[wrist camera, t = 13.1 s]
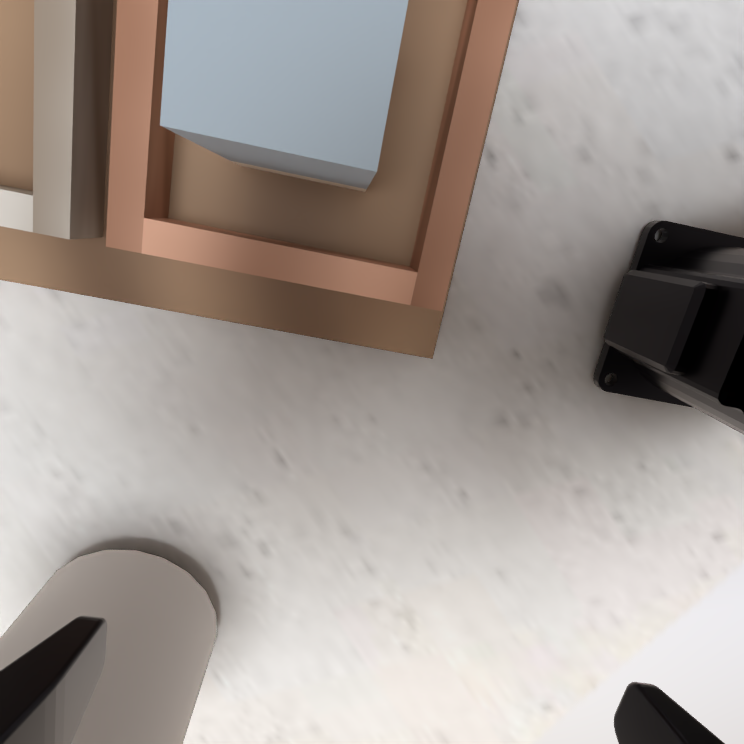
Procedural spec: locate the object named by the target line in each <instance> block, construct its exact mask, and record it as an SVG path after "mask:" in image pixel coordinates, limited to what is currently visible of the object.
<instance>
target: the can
mask: <svg viewBox="0 0 744 744" xmlns="http://www.w3.org/2000/svg"><path fill="white" fill-rule="evenodd" d="M82 615H85V616H93V617H102V618H104V619H106V621H107V642H106V658H105V663H104V667H103V670H102V673H101V676H100V678H99V680H98V683H97V685H96V687H95V690H94V692H93V694H92V697H91V699H90V701H89V704H88V706H87V708H86V711H85V713H84V715H83V718H82V720H81V722H80V725H79V727H78V729H77V732H76V734H75V736H74V739H73V741H72V743H71V744H183V741H184V738H185V735H186V732H187V728H188V725H189V722H190V719H191V716H192V713H193V710H194V706H195V703H196V700H197V697H198V694H199V691H200V688H201V684H202V681H203V678H204V675H205V672H206V669H207V666H208V662H209V659H210V656H211V653H212V650H213V647H214V644H215V640H216V637H217V621H216V612H215V610H214V607H213V605H212V603H211V601H210V598H209V596H208V594H207V592H206V591H205V590H204V588H203V587H202V586H201V585H200V584H199V583H198V582H197V581H196V580H195V579H194V578H193V577H192V576H191V575H190V574H189V572H187V571H185V570H184V569H182V568H180V567H178V566H177V565H175V564H173V563H172V562H170V561H168V560H167V559H165V558H162V557H159V556H155V555H151V554H148V553H144V552H141V551H137V550H102V551H98V552H95V553H91V554H87V555H83V556H79V557H77V558H76V559H74V560H73V561H71V562H69V563H68V564H66V565H65V566H63V567H62V568H60V569H58V570H57V571H56V572H55V573H54V574H53V576H52V577H51V578H50V579H49V580H48V582H47V583H46V584H45V585H44V586H43V588H42V589H41V590H40V591H39V592H38V594H37V595H36V596H35V597H34V598H33V600H32V601H31V602H30V603H29V604H28V606H27V607H26V608H25V609H24V610H23V612H22V613H21V614H20V615H19V616H18V618H17V619H16V620H15V621H14V622H13V624H12V625H11V626H10V627H9V628H8V630H7V631H6V632H5V633H4V634H3V636H2V637H1V638H0V670H2V669H3V668H4V667H6V666H7V665H9V664H10V663H12V662H13V661H14V660H16V659H17V658H19V657H20V656H22V655H23V654H25V653H26V652H27V651H29V650H30V649H32V648H33V647H35V646H36V645H37V644H39V643H40V642H42V641H43V640H45V639H46V638H47V637H49V636H50V635H52V634H53V633H55V632H56V631H57V630H59V629H60V628H62V627H63V626H65V625H66V624H67V623H69V622H70V621H72V620H73V619H75V618H76V617H79V616H82Z"/></svg>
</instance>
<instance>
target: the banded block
mask: <svg viewBox="0 0 744 744" xmlns="http://www.w3.org/2000/svg"><path fill="white" fill-rule="evenodd" d="M407 6H408V0H168V12H167V27H166V42H165V57H164V72H163V86H162V101H161V116H160V126H162V127H164V128H166V129H168V130H170V131H172V132H174V133H176V134H178V135H180V136H182V137H184V138H186V139H188V140H190V141H192V142H194V143H196V144H198V145H200V146H202V147H204V148H206V149H208V150H210V151H212V152H214V153H216V154H218V155H220V156H222V157H224V158H226V159H228V160H230V161H232V162H234V163H236V164H238V165H240V166H243V167H248V168H253V169H258V170H262V171H267V172H272V173H277V174H281V175H286V176H291V177H296V178H301V179H305V180H310V181H315V182H320V183H324V184H329V185H334V186H339V187H343V188H348V189H353V190H358V191H363V192H365V191H366V190H367V188H368V186H369V185H370V183H371V181H372V179H373V178H374V176H375V174H376V173H377V169H378V163H379V158H380V152H381V147H382V141H383V136H384V131H385V125H386V120H387V114H388V109H389V103H390V98H391V93H392V87H393V82H394V76H395V71H396V65H397V60H398V55H399V49H400V44H401V38H402V33H403V27H404V22H405V17H406V11H407Z"/></svg>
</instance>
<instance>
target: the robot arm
mask: <svg viewBox="0 0 744 744" xmlns="http://www.w3.org/2000/svg"><path fill="white" fill-rule="evenodd" d="M658 229H660V230H661V232H662V237H661V238H660V240H659V241H656V240H655V233H656V231H657V230H658ZM604 339H605V344H604V347H603V349H602V352H601V355H600V358H599V361H598V364H597V367H596V370H595V373H594V383H595V384H596V385H597V386H598V387H599V388H601V389H602V390H604V391H607V392H612V393H618V394H623V395H628V396H634V397H639V398H645V399H650V400H656V401H661V402H667V403H672V404H678V405H683V406H689V407H694V408H696V409H698V410H700V411H702V412H704V413H705V414H707V415H709V416H711V417H713V418H715V419H716V420H718V421H720V422H722V423H724V424H726V425H728V426H729V427H731V428H733V429H735V430H737V431H739V432H740V433H742V434H744V238H741V237H736V236H732V235H727V234H723V233H718V232H714V231H709V230H705V229H700V228H696V227H691V226H687V225H682V224H678V223H673V222H669V221H653V222H651V223H649V224H648V225H647V226H646V227H645V228H644V230H643V232H642V235H641V238H640V241H639V244H638V246H637V249H636V252H635V255H634V258H633V261H632V264H631V267H630V270H629V272H628V273H626V274H625V275H624V277H623V280H622V283H621V286H620V289H619V292H618V295H617V298H616V301H615V304H614V307H613V310H612V313H611V316H610V319H609V322H608V325H607V328H606V331H605V334H604ZM610 373H612V378H611V380H610V381H609V382H605V377H606V376H607V375H608V374H610ZM106 642H107V621H106V619H104V618H102V617H93V616H85V615H82V616H79V617H76V618H75V619H73V620H72V621H70V622H69V623H67V624H66V625H65V626H63V627H62V628H60V629H59V630H57V631H56V632H55V633H53V634H52V635H50V636H49V637H47V638H46V639H45V640H43V641H42V642H40V643H39V644H37V645H36V646H35V647H33V648H32V649H30V650H29V651H27V652H26V653H25V654H23V655H22V656H20V657H19V658H17V659H16V660H14V661H13V662H12V663H10V664H9V665H7V666H6V667H4V668H3V669H2V670H0V744H71V743H72V741H73V739H74V736H75V734H76V732H77V729H78V727H79V725H80V722H81V720H82V718H83V715H84V713H85V711H86V708H87V706H88V704H89V701H90V699H91V697H92V694H93V692H94V690H95V687H96V685H97V683H98V680H99V678H100V676H101V673H102V670H103V667H104V663H105V658H106ZM614 728H615V733H616V736H617V739H618V742H619V744H724V743H723V742H722V741H721V740H720V739H718V738H717V737H716V736H715V735H714V734H713V733H711V732H710V731H709V730H708V729H707V728H706V727H704V726H703V725H702V724H701V723H700V722H698V721H697V720H696V719H695V718H694V717H692V716H691V715H690V714H689V713H688V712H687V711H685V710H684V709H683V708H682V707H681V706H679V705H678V704H677V703H676V702H675V701H674V700H672V699H671V698H670V697H669V696H668V695H666V694H665V693H664V692H663V691H662V690H660V689H659V688H658V687H656V686H654V685H652V684H646V683H638V682H632V683H630V684H629V685H628V686H627V688H626V690H625V692H624V695H623V697H622V699H621V702H620V704H619V706H618V708H617V711H616V713H615V716H614Z"/></svg>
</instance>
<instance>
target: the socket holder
mask: <svg viewBox="0 0 744 744" xmlns="http://www.w3.org/2000/svg"><path fill="white" fill-rule="evenodd" d="M518 3H519V0H408V6H407V11H406V17H405V22H404V27H403V33H402V38H401V44H400V49H399V55H398V60H397V65H396V71H395V76H394V82H393V87H392V93H391V98H390V103H389V109H388V114H387V120H386V125H385V131H384V136H383V141H382V147H381V152H380V158H379V163H378V169H377V173H376V174H375V176H374V178H373V179H372V181H371V183H370V185H369V186H368V188H367V190H366V191H365V192H363V191H358V190H353V189H348V188H343V187H339V186H334V185H329V184H324V183H320V182H315V181H310V180H305V179H301V178H296V177H291V176H286V175H281V174H277V173H272V172H267V171H262V170H258V169H253V168H248V167H243V166H240V165H238V164H236V163H234V162H232V161H230V160H228V159H226V158H224V157H222V156H220V155H218V154H216V153H214V152H212V151H210V150H208V149H206V148H204V147H202V146H200V145H198V144H196V143H194V142H192V141H190V140H188V139H186V138H184V137H182V136H180V135H178V134H176V133H174V132H172V131H170V130H168V129H166V128H164V127H162V126H160V116H161V101H162V86H163V72H164V57H165V42H166V27H167V12H168V0H0V280H5V281H10V282H16V283H21V284H27V285H32V286H38V287H43V288H49V289H54V290H60V291H65V292H70V293H76V294H81V295H87V296H92V297H98V298H103V299H109V300H114V301H120V302H125V303H131V304H136V305H141V306H147V307H152V308H158V309H163V310H169V311H174V312H180V313H185V314H191V315H196V316H202V317H207V318H213V319H218V320H223V321H229V322H234V323H240V324H245V325H251V326H256V327H262V328H267V329H273V330H278V331H284V332H289V333H295V334H300V335H305V336H311V337H316V338H322V339H327V340H333V341H338V342H344V343H349V344H355V345H360V346H366V347H371V348H376V349H382V350H387V351H393V352H398V353H404V354H409V355H415V356H420V357H426V358H431V359H432V358H433V354H434V350H435V346H436V342H437V338H438V333H439V329H440V325H441V321H442V317H443V313H444V309H445V305H446V300H447V296H448V292H449V288H450V284H451V280H452V276H453V271H454V267H455V263H456V259H457V255H458V251H459V247H460V242H461V238H462V234H463V230H464V226H465V222H466V218H467V214H468V209H469V205H470V201H471V197H472V193H473V189H474V185H475V180H476V176H477V172H478V168H479V164H480V160H481V156H482V151H483V147H484V143H485V139H486V135H487V131H488V127H489V123H490V118H491V114H492V110H493V106H494V102H495V98H496V94H497V89H498V85H499V81H500V77H501V73H502V69H503V65H504V60H505V56H506V52H507V48H508V44H509V40H510V36H511V32H512V27H513V23H514V19H515V15H516V11H517V7H518Z"/></svg>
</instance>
